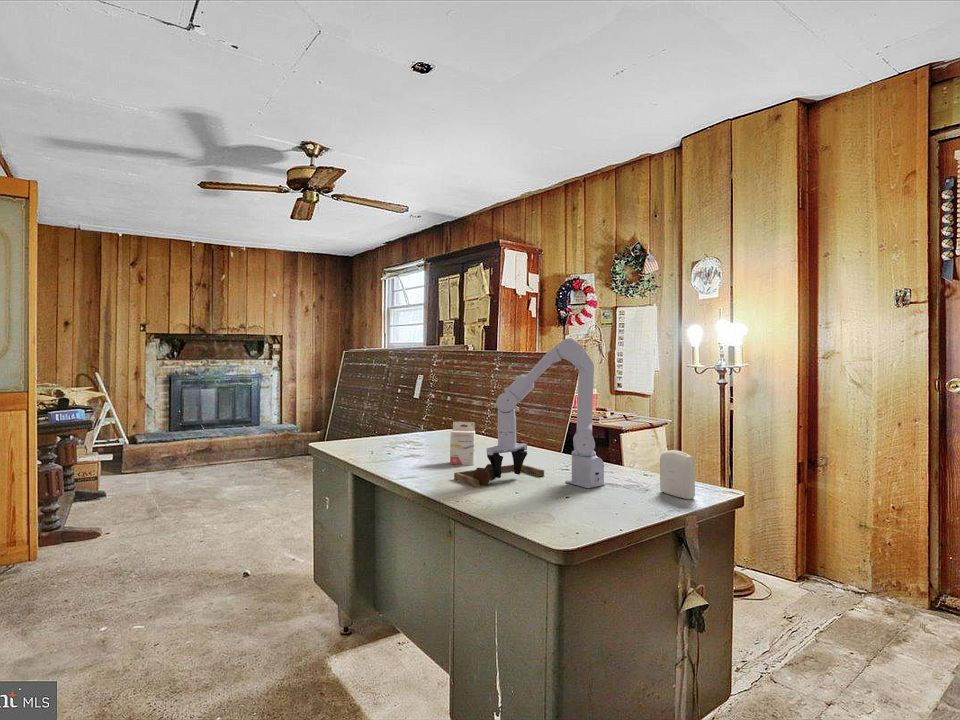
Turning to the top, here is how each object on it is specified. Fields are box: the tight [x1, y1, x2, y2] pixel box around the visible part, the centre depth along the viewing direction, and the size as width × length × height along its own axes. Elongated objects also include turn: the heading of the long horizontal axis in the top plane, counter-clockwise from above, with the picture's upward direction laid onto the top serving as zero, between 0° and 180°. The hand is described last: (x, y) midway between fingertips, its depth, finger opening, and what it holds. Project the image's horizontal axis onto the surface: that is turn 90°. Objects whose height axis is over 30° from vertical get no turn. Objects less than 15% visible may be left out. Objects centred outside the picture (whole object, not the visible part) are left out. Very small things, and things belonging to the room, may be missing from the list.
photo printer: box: [659, 449, 696, 500], centre depth 148 cm, size 10×4×12 cm, turn 26°
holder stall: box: [453, 463, 545, 488], centre depth 168 cm, size 12×26×2 cm, turn 124°
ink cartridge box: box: [449, 421, 476, 466], centre depth 190 cm, size 9×5×15 cm, turn 84°
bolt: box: [472, 463, 497, 487], centre depth 165 cm, size 6×5×15 cm
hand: (507, 475), depth 164 cm, fingers open, 7 cm apart
